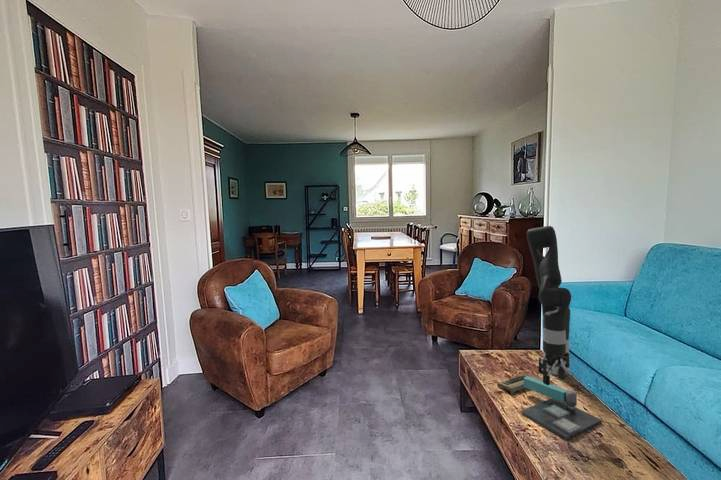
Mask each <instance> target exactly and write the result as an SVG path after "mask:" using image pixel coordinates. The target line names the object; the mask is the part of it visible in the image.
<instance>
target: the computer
mask: <svg viewBox="0 0 721 480" xmlns="http://www.w3.org/2000/svg"><path fill="white" fill-rule="evenodd" d="M526 376H527V375H523V374H520V375H518V376H514V377H511V378H508V379H505V380H502V381H499V382H497V384H496V386H497V387H498V388H499V389H501V390H503V391H505V392H507V393H508V394H510V395H514V394H515V392H519V393H520V392H521V391H525V390H528V389H527V388H525V387H524V377H526Z"/></svg>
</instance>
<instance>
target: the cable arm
mask: <svg viewBox="0 0 721 480" xmlns="http://www.w3.org/2000/svg"><path fill="white" fill-rule="evenodd" d="M525 376H526V377H524V387H525V388H527V389H526V390H530V391H532V392H535V393H539V394H541V395H543V396H545V397H548V398H549V399H551V398H553V399H556V400H558V401H561V402H563V403H564V402H566V404H568V405H570V406H575V407H576V406H577V405H578V404H577V403H578V400H577V397H578V396H577V395H578V394H577V392H575V391H574V390H571V389H570V390H568V389H565V388H562V387H559V386H557V385H553V384H552V383H550V385H546V384H544V383H543V380H540V379H537V378H535V377H532V376H528V375H525Z"/></svg>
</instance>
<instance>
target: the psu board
mask: <svg viewBox="0 0 721 480" xmlns="http://www.w3.org/2000/svg"><path fill="white" fill-rule="evenodd" d="M520 412H521V415H523V416H524V417H526V418H528V419H529V420H531V421H532V422H535V423H536V424H538V425H540V426H542V427H543V428H545V429H546V430H548V431H550V432H552V433H553V434H555V435H556V436H559V437H560V438H562V439H563V440H565V441H567V442H568V441H569V440H571V439H573V438H575V437H577V436H579V435H581V434H583V433H585V432H588V431H589V430H591V429H593V428H595V427H596V426H599V425H601V424H603V423H602V422H603V420H602V419H600V418H598V417H597V416H595V415H592V414H591V413H588V412H586V411H585V410H582V409H580V408H579V407H576V406H570V405H568V404H566V401H565V402H564V403H563V402H561V401H558V400H556V399H553V398H549V399H547V400H544V401H542V402H540V403H536V404H534V405H532V406H529V407H527V408H525V409H522V410H521V411H520Z"/></svg>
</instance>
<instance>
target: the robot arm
mask: <svg viewBox="0 0 721 480" xmlns="http://www.w3.org/2000/svg"><path fill="white" fill-rule="evenodd" d="M526 239H527V243H528V244H527V245H528V247H529V250H530V253H531V254H530V255H531V258H532V260H533V265H534V272H535V277H536V282H537V285H538V289H539V293H538V301H539V303H540V304H541V307H542V309H541V310H542V316H543V331H542V350H543V352H544V353H545V356H544V357H541V356H540V357H539V358H538V369H537V370H538V373H539V374H541V375H542V381H543V383H544V384H546V385H550V384H551V375H554V376H557V378H558V379H559V380H561V381H564V380H565V379H566V376H568V375H570V374H569V373H570V370H571V369H570V368H571V365H570V364H571V363H570V360H571V359H570V358H571V353H570V323H571V322H570V321H571V308H570V305H571V301H572V294H571V291H570V290H569V289H568V288H565V287H560V285H561V284H562V283H563V282H562V281H563V279H562V276H561V275H562V274H561V271H560V266H559V252H558V251H559V249H558V239H557V233H556V230H555V228H554V226H551V225H546V226H540V227H533V228H530V229H529V228H528V230H527V231H526ZM546 248H547V249H548V250H547V252H546V254H545V256H544V255H543V254H542V253H541V251H540V249H541V250H542V249H546Z"/></svg>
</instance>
